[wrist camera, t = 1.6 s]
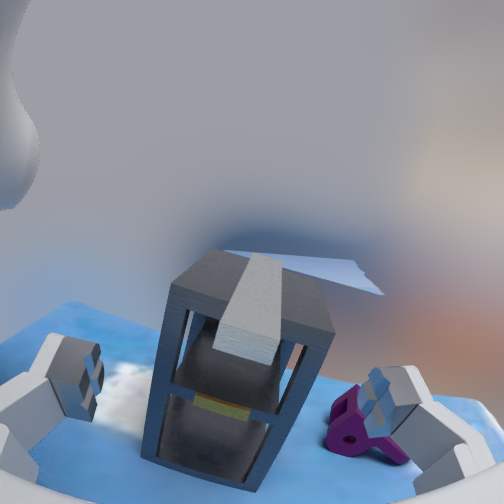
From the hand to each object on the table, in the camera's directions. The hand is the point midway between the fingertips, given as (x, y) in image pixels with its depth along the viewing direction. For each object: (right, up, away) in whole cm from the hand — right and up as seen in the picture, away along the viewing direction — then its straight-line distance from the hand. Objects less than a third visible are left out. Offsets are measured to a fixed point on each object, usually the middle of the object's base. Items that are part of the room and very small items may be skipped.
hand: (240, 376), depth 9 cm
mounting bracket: (+21, -32, +40) cm, 55 cm away
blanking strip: (+1, -1, +24) cm, 24 cm away
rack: (-6, -24, +35) cm, 43 cm away
